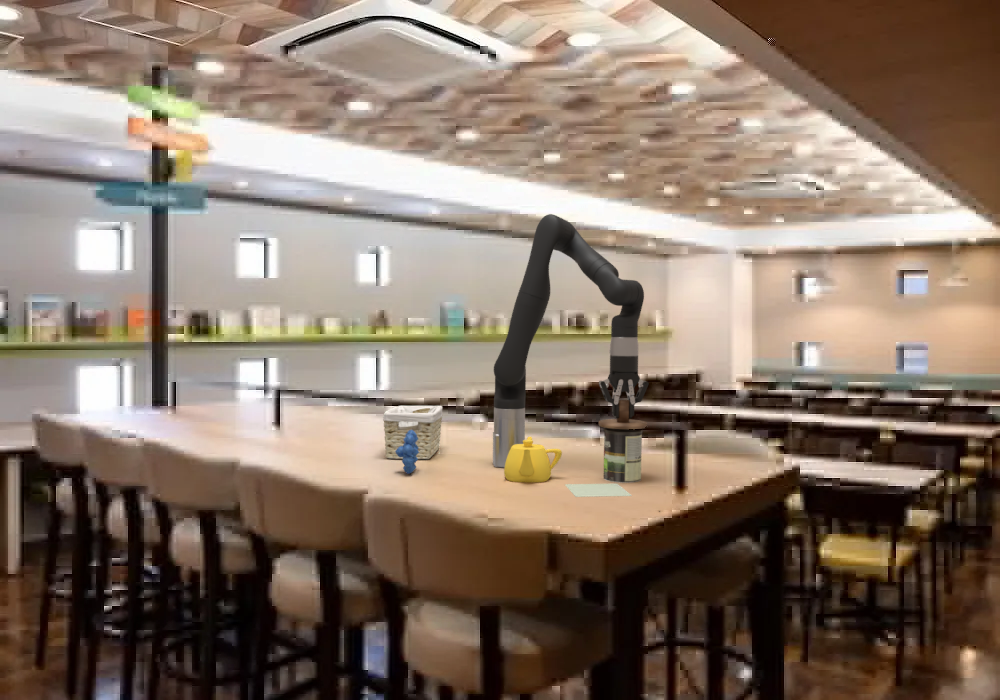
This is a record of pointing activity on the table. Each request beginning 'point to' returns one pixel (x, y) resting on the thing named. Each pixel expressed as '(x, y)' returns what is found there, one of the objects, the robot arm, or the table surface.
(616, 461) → the coffee can
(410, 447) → the grapes
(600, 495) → the mat
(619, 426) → the lid
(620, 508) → the table surface
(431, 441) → the storage basket
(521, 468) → the teapot
